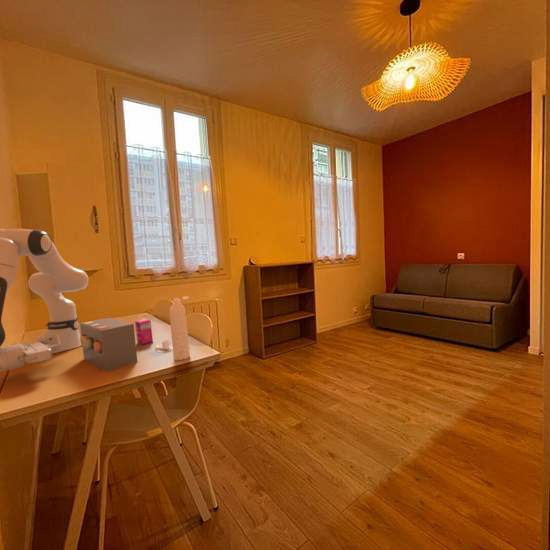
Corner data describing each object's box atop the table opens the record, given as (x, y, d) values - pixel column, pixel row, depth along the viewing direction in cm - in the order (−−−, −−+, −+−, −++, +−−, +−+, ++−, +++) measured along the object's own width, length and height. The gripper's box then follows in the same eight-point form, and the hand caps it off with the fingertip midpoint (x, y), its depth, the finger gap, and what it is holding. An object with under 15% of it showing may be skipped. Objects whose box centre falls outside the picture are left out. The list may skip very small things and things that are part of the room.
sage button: (86, 351, 122) (84, 341, 122) (82, 349, 125) (81, 339, 125) (94, 349, 125) (93, 339, 124) (90, 347, 127) (89, 337, 127)
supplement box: (136, 343, 155) (134, 321, 154) (148, 340, 159) (146, 318, 158) (141, 345, 151) (139, 322, 150) (153, 342, 155) (151, 320, 154)
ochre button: (83, 346, 129) (82, 337, 129) (80, 345, 132) (79, 336, 131) (91, 344, 131) (90, 335, 131) (88, 343, 134) (87, 334, 134)
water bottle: (178, 361, 124) (172, 300, 122) (170, 358, 129) (165, 299, 127) (197, 355, 130) (192, 296, 128) (189, 352, 135) (184, 296, 133)
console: (106, 371, 118) (101, 329, 117) (83, 359, 135) (79, 322, 134) (137, 362, 127) (133, 323, 125) (112, 351, 144) (109, 316, 143)
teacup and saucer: (153, 350, 143) (152, 341, 143) (169, 345, 149) (168, 337, 148) (161, 354, 137) (160, 345, 136) (178, 349, 142) (177, 340, 142)
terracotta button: (97, 353, 118) (96, 343, 118) (93, 351, 121) (92, 341, 121) (105, 351, 120) (104, 341, 120) (101, 349, 123) (100, 339, 123)
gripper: (20, 352, 107) (66, 342, 117) (10, 343, 121) (53, 335, 131) (22, 370, 107) (68, 358, 118) (12, 359, 121) (54, 349, 131)
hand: (60, 346), depth 124 cm, fingers closed
